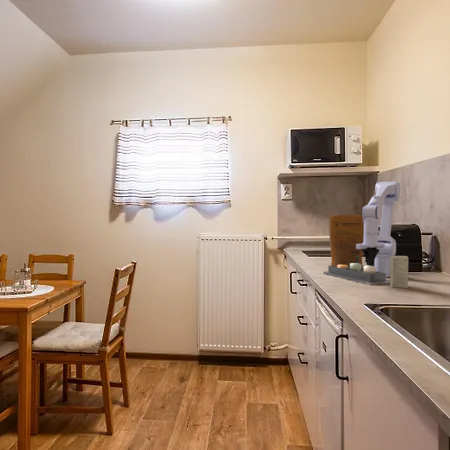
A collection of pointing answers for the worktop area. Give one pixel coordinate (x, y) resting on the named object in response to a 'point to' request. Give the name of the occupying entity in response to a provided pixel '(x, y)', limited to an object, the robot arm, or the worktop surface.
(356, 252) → the pancake mix bag
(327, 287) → the worktop surface
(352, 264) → the sage button
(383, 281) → the button panel
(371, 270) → the ivory button
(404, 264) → the skincare box
